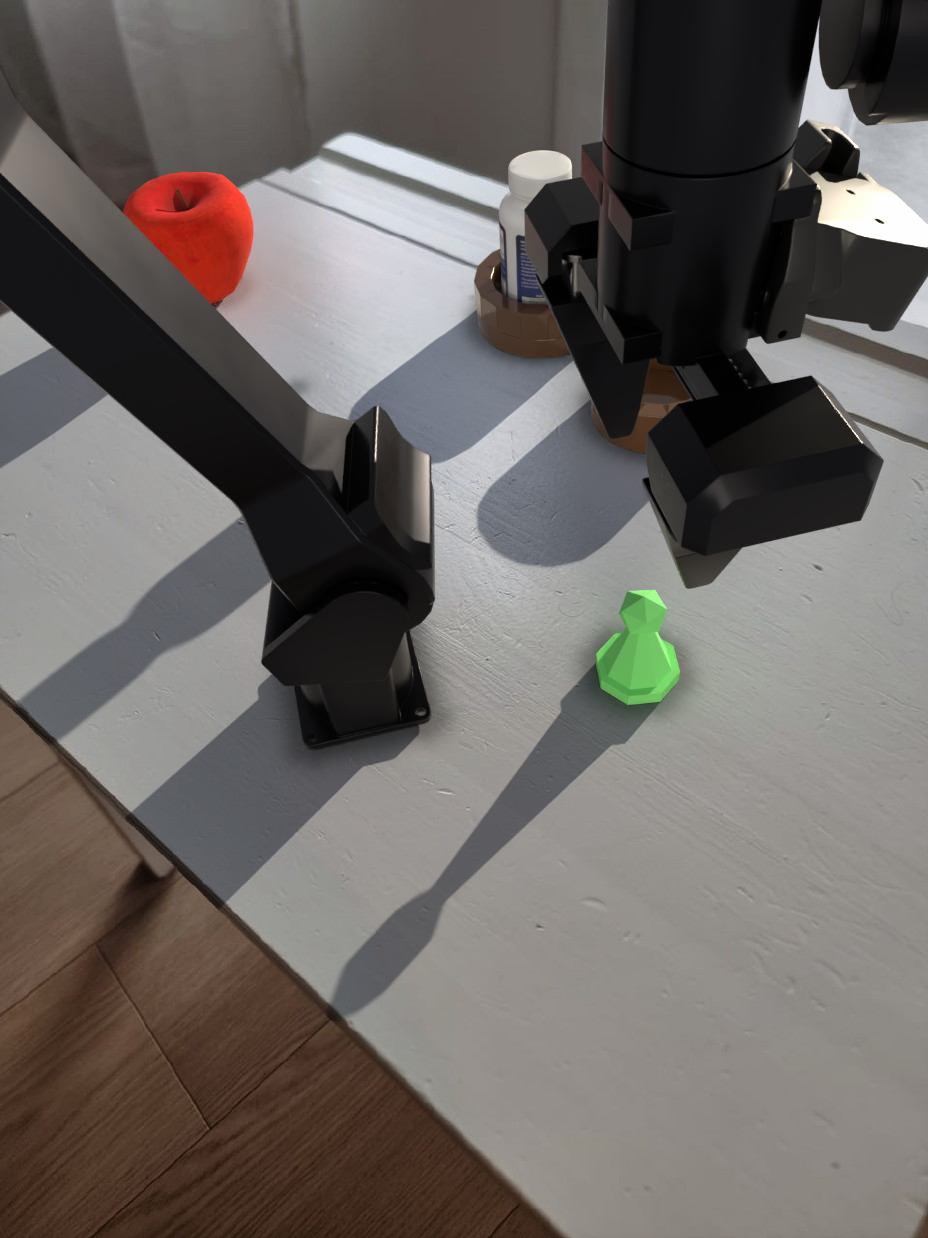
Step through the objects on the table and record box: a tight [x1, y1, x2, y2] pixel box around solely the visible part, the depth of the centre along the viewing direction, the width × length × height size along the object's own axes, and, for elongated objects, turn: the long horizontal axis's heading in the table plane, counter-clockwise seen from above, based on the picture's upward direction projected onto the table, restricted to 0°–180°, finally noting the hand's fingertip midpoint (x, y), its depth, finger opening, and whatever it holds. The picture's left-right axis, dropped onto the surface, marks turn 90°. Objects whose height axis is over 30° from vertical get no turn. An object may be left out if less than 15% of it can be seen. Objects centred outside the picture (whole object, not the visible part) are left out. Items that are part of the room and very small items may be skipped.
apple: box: [122, 171, 254, 305], centre depth 73 cm, size 9×9×8 cm
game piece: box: [595, 589, 681, 706], centre depth 49 cm, size 4×4×6 cm
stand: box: [473, 248, 571, 359], centre depth 69 cm, size 9×9×4 cm
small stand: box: [590, 359, 692, 455], centre depth 63 cm, size 8×8×3 cm
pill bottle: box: [498, 149, 573, 304], centre depth 66 cm, size 5×5×10 cm
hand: (655, 504), depth 42 cm, fingers open, 9 cm apart
